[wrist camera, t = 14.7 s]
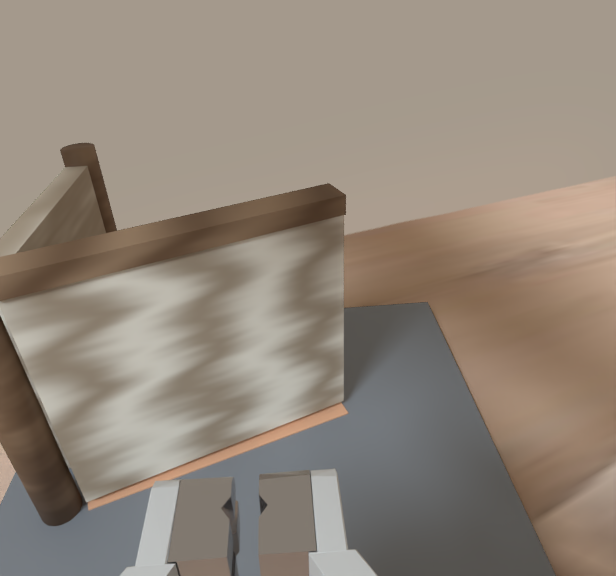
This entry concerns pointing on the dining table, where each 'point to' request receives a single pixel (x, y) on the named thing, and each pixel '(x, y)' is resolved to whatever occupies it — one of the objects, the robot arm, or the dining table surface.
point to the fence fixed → (5, 354)
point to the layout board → (349, 466)
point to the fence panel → (182, 332)
